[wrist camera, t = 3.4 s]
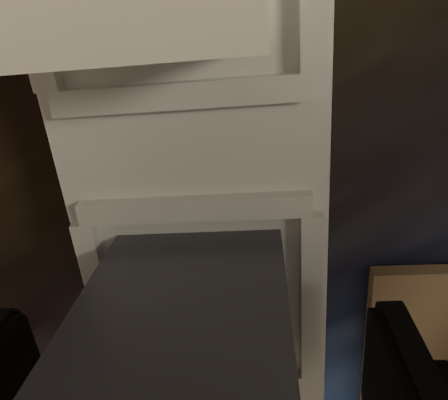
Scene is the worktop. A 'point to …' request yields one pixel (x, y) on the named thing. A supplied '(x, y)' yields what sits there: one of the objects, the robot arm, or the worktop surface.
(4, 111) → the worktop surface
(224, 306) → the block
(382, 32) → the worktop surface
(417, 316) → the coaster
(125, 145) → the power strip
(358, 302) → the worktop surface
